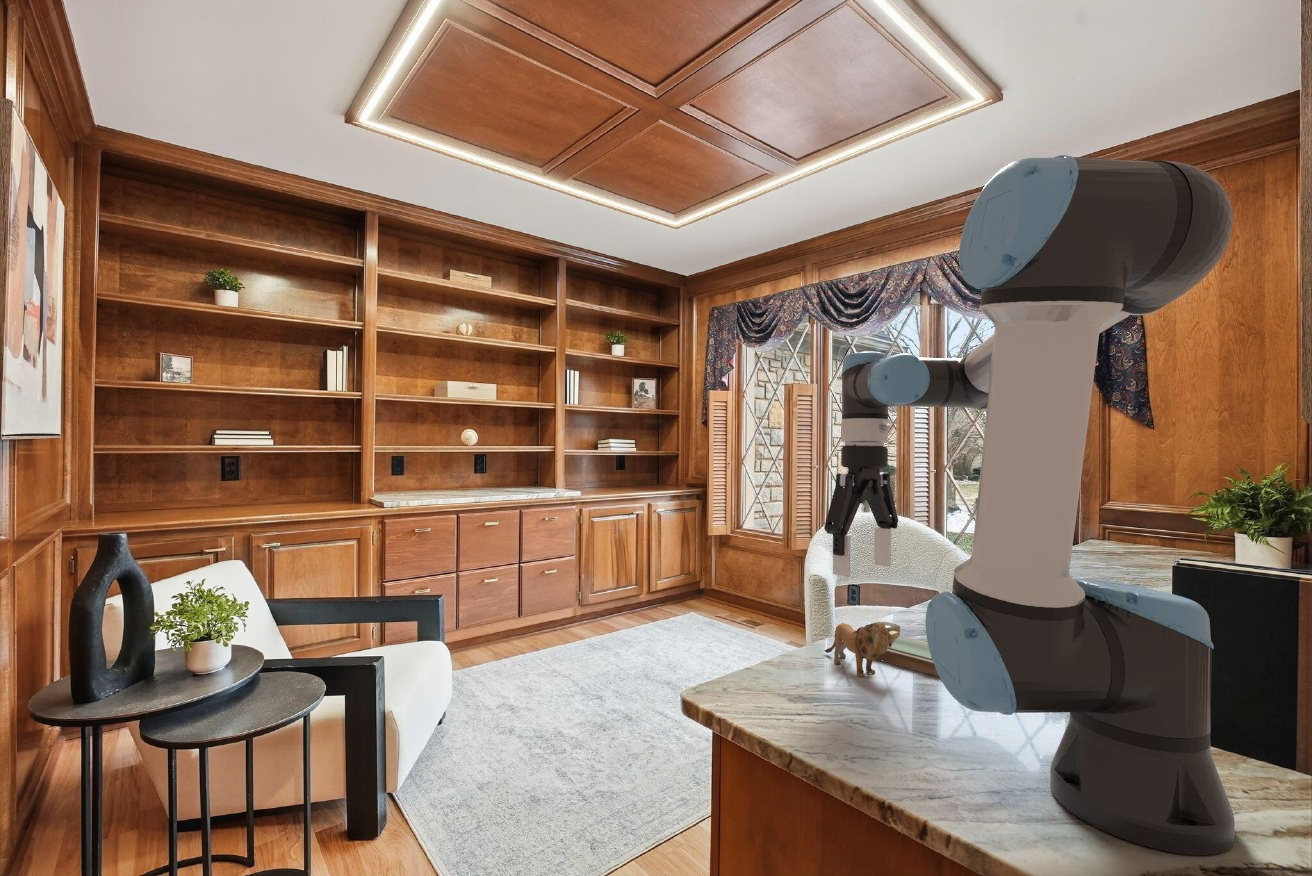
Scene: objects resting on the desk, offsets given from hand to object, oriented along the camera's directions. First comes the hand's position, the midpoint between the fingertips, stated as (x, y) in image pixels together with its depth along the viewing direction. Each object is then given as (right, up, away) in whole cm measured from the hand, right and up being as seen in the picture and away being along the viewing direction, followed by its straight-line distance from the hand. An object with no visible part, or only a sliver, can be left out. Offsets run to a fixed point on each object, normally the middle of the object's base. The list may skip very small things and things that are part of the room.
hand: (862, 570), depth 106 cm
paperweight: (+10, -17, +16) cm, 26 cm away
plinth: (+14, -17, +2) cm, 22 cm away
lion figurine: (-1, -17, 0) cm, 17 cm away
